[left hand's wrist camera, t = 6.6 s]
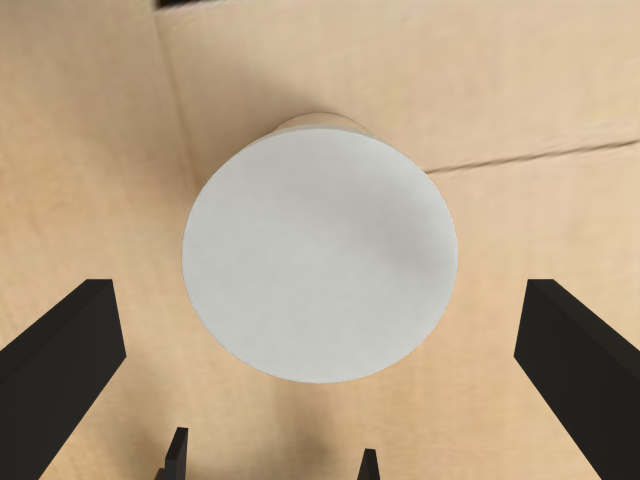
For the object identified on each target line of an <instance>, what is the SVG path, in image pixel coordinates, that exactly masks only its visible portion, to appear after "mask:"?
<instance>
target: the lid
mask: <svg viewBox="0 0 640 480" xmlns="http://www.w3.org/2000/svg"><path fill="white" fill-rule="evenodd" d="M181 256H182V272H183V276H184V281H185V286H186V290H187V292H188V295H189V298H190V301H191V303H192V305H193V307H194V309H195V311H196V313H197V315H198V317H199V319H200V320H201V322H202V323H203V325H204V326H205V327H206V329H207V330H208V332H209V333H210V334H211V335H212V336H213V337H214V338H215V339H216V341H217V342H218V343H219V344H221V345H222V346H223V347H224V348H225V349H226V350H227V351H228V352H230V353H231V354H232V355H234V356H235V357H237V358H238V359H240V360H241V361H242V362H244V363H246V364H248V365H250V366H251V367H253V368H255V369H257V370H259V371H262V372H264V373H267V374H270V375H272V376H275V377H279V378H283V379H286V380H291V381H298V382H304V383H335V382H342V381H348V380H353V379H357V378H360V377H364V376H367V375H370V374H373V373H375V372H378V371H380V370H382V369H384V368H386V367H388V366H390V365H392V364H394V363H395V362H397V361H399V360H400V359H401V358H403V357H404V356H406V355H407V354H409V353H410V352H411V351H412V350H413V349H414V348H416V347H417V346H418V345H419V344H420V343H421V342H422V341H423V340H424V339H425V338H426V337H427V335H428V334H429V333H430V332H431V331H432V330H433V328H434V327H435V325H436V324H437V322H438V321H439V319H440V318H441V316H442V315H443V312H444V310H445V308H446V306H447V304H448V302H449V300H450V297H451V294H452V291H453V288H454V284H455V279H456V273H457V265H458V247H457V237H456V232H455V228H454V224H453V220H452V217H451V215H450V212H449V210H448V208H447V205H446V203H445V201H444V199H443V198H442V196H441V194H440V192H439V191H438V189H437V187H436V186H435V185H434V184H433V182H432V181H431V180H430V179H429V177H428V176H427V175H426V174H425V172H423V171H422V170H421V169H420V168H419V167H418V166H417V165H416V164H415V163H414V162H413V161H412V160H410V159H409V158H408V157H407V156H406V155H404V154H403V153H402V152H401V151H399V150H398V149H396V148H395V147H393V146H392V145H391V144H389V143H388V142H386V141H384V140H382V139H380V138H378V137H376V136H374V135H372V134H370V133H367V132H364V131H361V130H358V129H355V128H351V127H346V126H341V125H333V124H307V125H298V126H294V127H289V128H284V129H281V130H278V131H276V132H273V133H270V134H267V135H265V136H263V137H261V138H259V139H258V140H256V141H254V142H252V143H250V144H249V145H247V146H246V147H245V148H243V149H242V150H240V151H239V152H238V153H236V154H235V155H234V156H233V157H231V158H230V159H229V160H228V161H227V162H226V163H224V164H223V165H222V166H221V167H220V168H219V169H218V170H217V171H216V172H215V173H214V174H213V175H212V177H211V178H210V179H209V180H208V182H207V183H206V184H205V185H204V187H203V188H202V190H201V191H200V193H199V195H198V197H197V198H196V200H195V202H194V204H193V206H192V208H191V211H190V213H189V216H188V219H187V222H186V226H185V230H184V234H183V241H182V253H181Z"/></svg>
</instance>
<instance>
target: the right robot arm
mask: <svg viewBox="0 0 640 480" xmlns="http://www.w3.org/2000/svg"><path fill="white" fill-rule="evenodd" d="M187 440H188V428H182V427H177V430H176V432H175V435H174V438H173V440H172V443H171V445H170V448H169V450H168V453H167V455H166V458H165V469H164V468H159V470H158V472H157V473H156V476H155V478H154V480H185V471H186V456H187ZM357 480H380V475H379V469H378V463H377V457H376V451H375V449H366V448H365V451H364V455H363V459H362V463H361V467H360V471H359V474H358V478H357Z"/></svg>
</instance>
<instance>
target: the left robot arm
mask: <svg viewBox="0 0 640 480" xmlns="http://www.w3.org/2000/svg"><path fill="white" fill-rule="evenodd" d="M125 358H126V352H125V346H124V341H123V336H122V330H121V325H120V319H119V314H118V309H117V303H116V298H115V292H114V287H113V281H112V279H86V280H85V281H84V282H83V283H82V284H80V285H79V286H78V287H77V288H76V289H74V290H73V291H72V292H71V293H70V294H68V295H67V296H66V297H65V298H64V299H62V300H61V301H60V302H59V303H58V304H56V305H55V306H54V307H53V308H52V309H50V310H49V311H48V312H47V313H46V314H44V315H43V316H42V317H41V318H39V319H38V320H37V321H36V322H35V323H33V324H32V325H31V326H30V327H29V328H27V329H26V330H25V331H24V332H23V333H21V334H20V335H19V336H18V337H17V338H15V339H14V340H13V341H12V342H11V343H9V344H8V345H7V346H6V347H5V348H3V349H2V350H1V351H0V480H38V479H39V478H40V477H41V475H42V474H43V472H44V471H45V470H46V468H47V467H48V465H49V464H50V463H51V461H52V460H53V458H54V457H55V456H56V454H57V453H58V451H59V450H60V449H61V447H62V446H63V444H64V443H65V442H66V440H67V439H68V437H69V436H70V435H71V433H72V432H73V430H74V429H75V428H76V426H77V425H78V423H79V422H80V421H81V419H82V418H83V416H84V415H85V414H86V412H87V411H88V409H89V408H90V407H91V405H92V404H93V403H94V401H95V400H96V398H97V397H98V396H99V394H100V393H101V391H102V390H103V389H104V387H105V386H106V384H107V383H108V382H109V380H110V379H111V377H112V376H113V375H114V373H115V372H116V370H117V369H118V368H119V366H120V365H121V363H122V362H123V361H124V359H125ZM514 358H515V359H516V361H517V362H518V363H519V365H520V366H521V368H522V369H523V370H524V372H525V373H526V375H527V376H528V377H529V379H530V380H531V382H532V383H533V384H534V386H535V387H536V389H537V390H538V391H539V393H540V394H541V396H542V397H543V398H544V400H545V401H546V403H547V404H548V405H549V407H550V408H551V409H552V411H553V412H554V414H555V415H556V416H557V418H558V419H559V421H560V422H561V423H562V425H563V426H564V428H565V429H566V430H567V432H568V433H569V435H570V436H571V437H572V439H573V440H574V442H575V443H576V444H577V446H578V447H579V449H580V450H581V451H582V453H583V454H584V456H585V457H586V458H587V460H588V461H589V463H590V464H591V465H592V467H593V468H594V470H595V471H596V472H597V474H598V475H599V477H600V478H601V479H602V480H640V351H639V350H638V349H637V348H635V347H634V346H633V345H632V344H631V343H629V342H628V341H627V340H626V339H625V338H623V337H622V336H621V335H620V334H619V333H617V332H616V331H615V330H614V329H613V328H611V327H610V326H609V325H608V324H607V323H605V322H604V321H603V320H602V319H601V318H599V317H598V316H597V315H596V314H594V313H593V312H592V311H591V310H590V309H588V308H587V307H586V306H585V305H584V304H582V303H581V302H580V301H579V300H578V299H576V298H575V297H574V296H573V295H572V294H570V293H569V292H568V291H567V290H566V289H564V288H563V287H562V286H561V285H560V284H558V283H557V282H556V281H555V280H554V279H528V281H527V287H526V292H525V298H524V303H523V309H522V314H521V319H520V325H519V330H518V336H517V341H516V346H515V352H514Z"/></svg>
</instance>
